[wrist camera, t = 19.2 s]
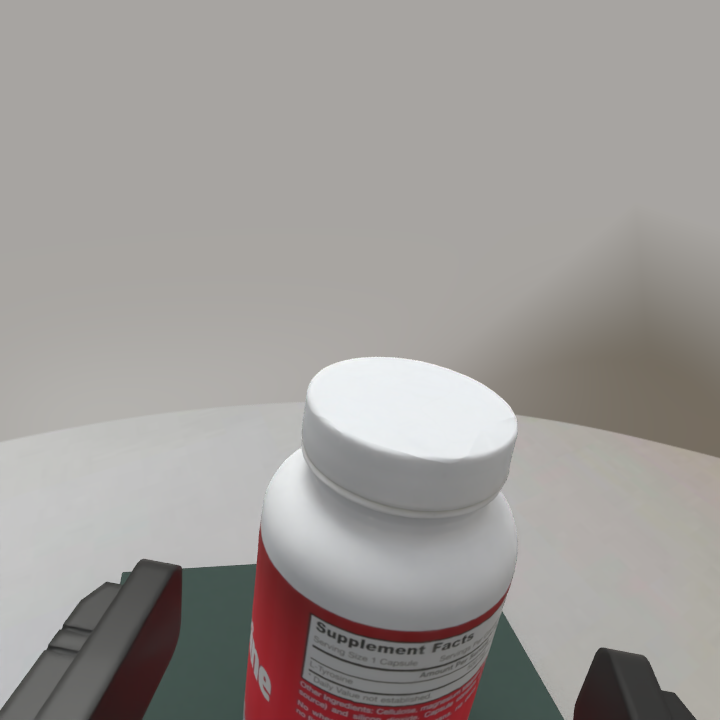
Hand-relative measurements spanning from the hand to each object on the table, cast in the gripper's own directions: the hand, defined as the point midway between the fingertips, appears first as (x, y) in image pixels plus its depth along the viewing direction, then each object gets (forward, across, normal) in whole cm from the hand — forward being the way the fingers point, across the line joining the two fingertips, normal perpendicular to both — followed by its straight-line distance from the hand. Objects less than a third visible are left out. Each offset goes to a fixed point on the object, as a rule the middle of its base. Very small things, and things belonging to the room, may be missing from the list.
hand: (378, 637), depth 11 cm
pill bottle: (+3, 0, +8) cm, 8 cm away
